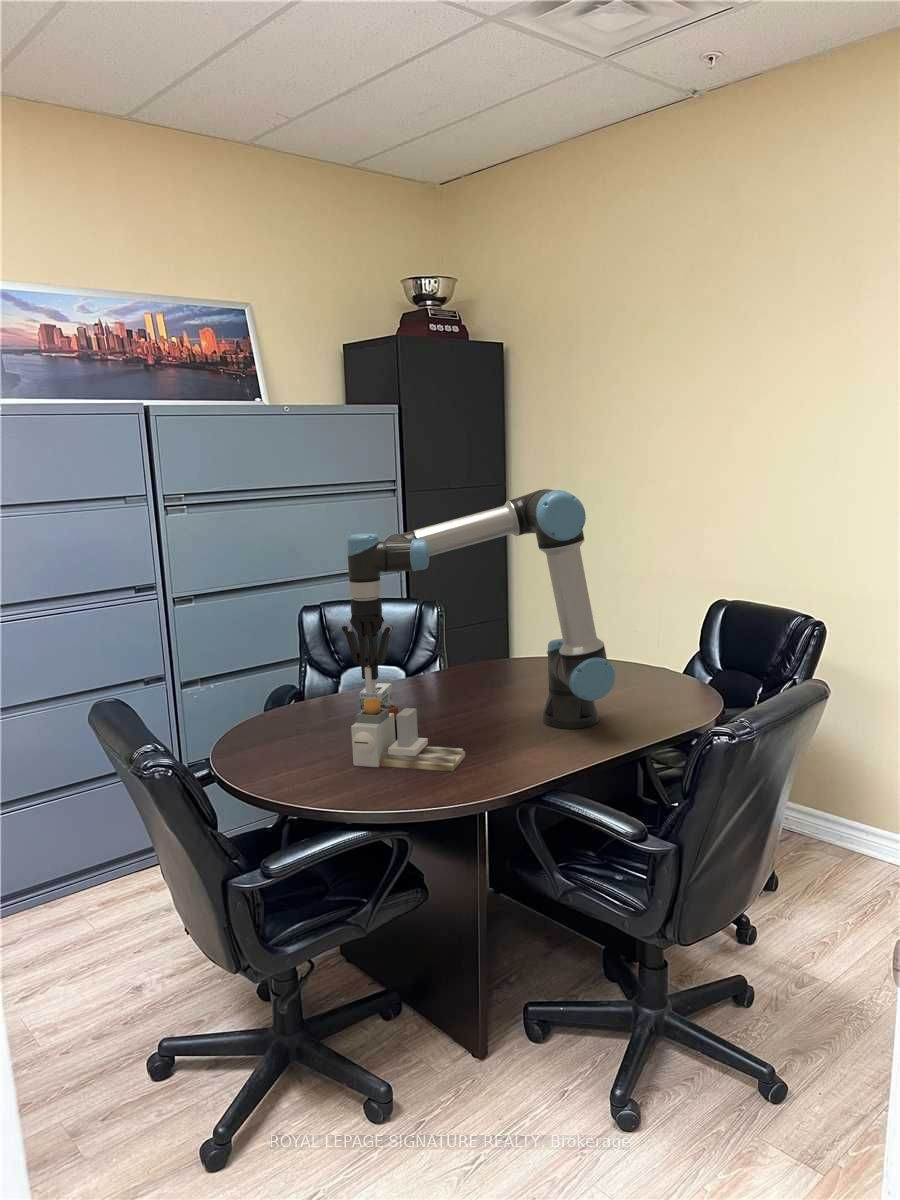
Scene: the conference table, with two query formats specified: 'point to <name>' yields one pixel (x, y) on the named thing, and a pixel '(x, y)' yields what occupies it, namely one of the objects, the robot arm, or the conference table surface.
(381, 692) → the light bulb box
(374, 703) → the button
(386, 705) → the battery
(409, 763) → the rail bed
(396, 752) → the carriage
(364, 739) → the cabinet
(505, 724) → the conference table surface
